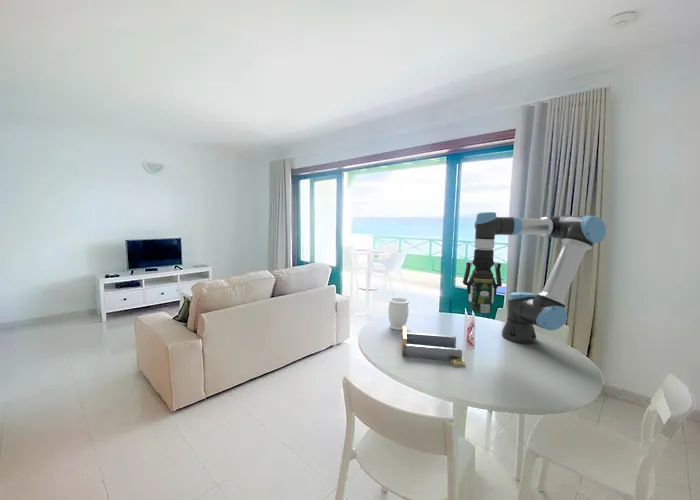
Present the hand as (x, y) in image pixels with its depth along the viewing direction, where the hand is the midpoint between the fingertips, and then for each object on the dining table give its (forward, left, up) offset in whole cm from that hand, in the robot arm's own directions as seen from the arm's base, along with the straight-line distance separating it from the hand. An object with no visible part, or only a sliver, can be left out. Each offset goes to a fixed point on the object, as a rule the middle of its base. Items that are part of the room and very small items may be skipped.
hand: (480, 301), depth 132 cm
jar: (+34, -25, -24) cm, 49 cm away
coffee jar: (0, 0, -5) cm, 5 cm away
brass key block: (+10, +12, -24) cm, 29 cm away
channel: (+20, +2, -23) cm, 31 cm away
